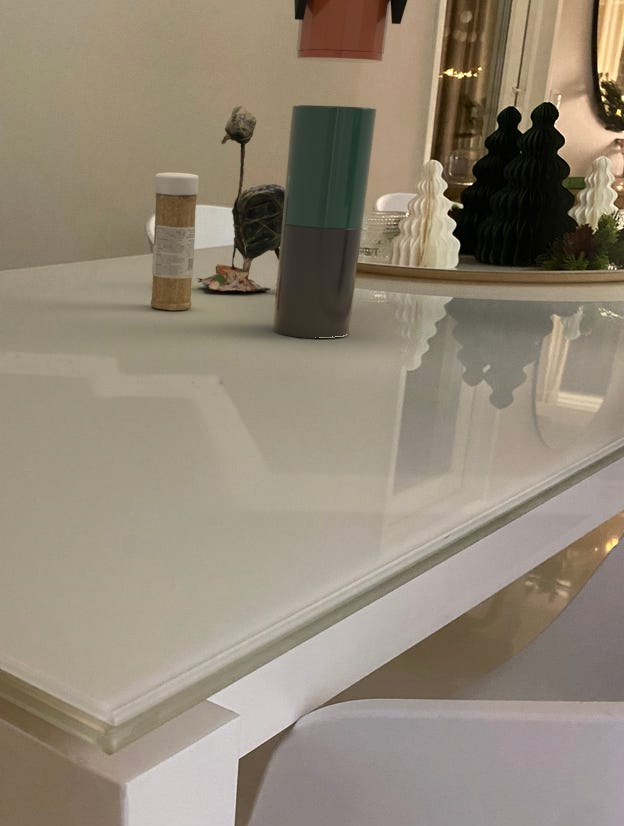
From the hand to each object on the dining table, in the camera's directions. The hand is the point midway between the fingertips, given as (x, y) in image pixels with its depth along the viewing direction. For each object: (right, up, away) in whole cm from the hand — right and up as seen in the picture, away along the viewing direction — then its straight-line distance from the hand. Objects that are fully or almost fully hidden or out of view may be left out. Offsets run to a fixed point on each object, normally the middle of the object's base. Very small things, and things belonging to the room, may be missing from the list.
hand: (350, 7), depth 89 cm
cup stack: (-1, -23, +15) cm, 28 cm away
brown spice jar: (-15, -18, +25) cm, 34 cm away
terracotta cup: (0, -2, +5) cm, 5 cm away
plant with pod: (-6, -11, +38) cm, 40 cm away
